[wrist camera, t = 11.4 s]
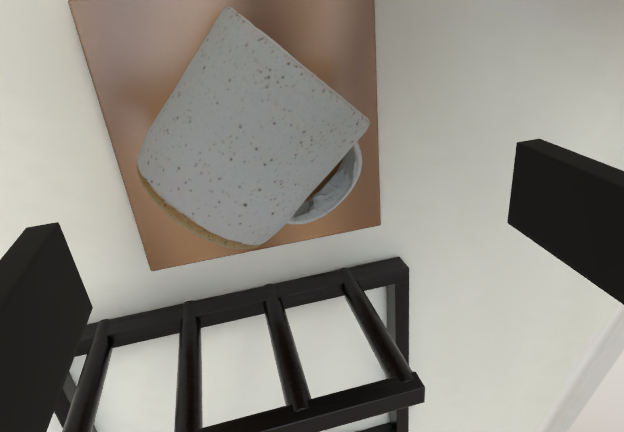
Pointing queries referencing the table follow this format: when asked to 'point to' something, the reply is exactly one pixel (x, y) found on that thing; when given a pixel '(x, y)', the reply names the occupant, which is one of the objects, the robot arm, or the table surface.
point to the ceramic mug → (249, 141)
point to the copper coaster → (172, 64)
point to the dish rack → (272, 302)
